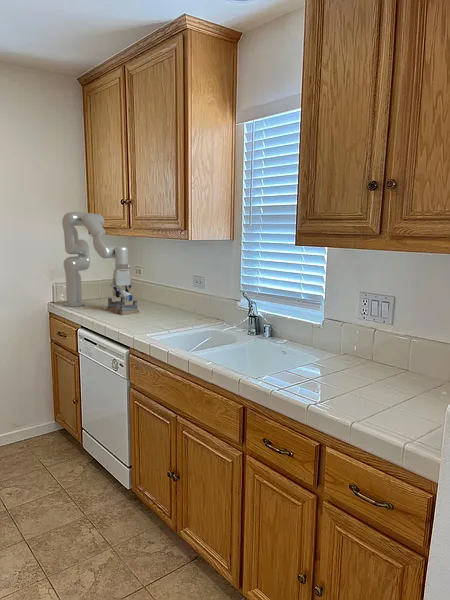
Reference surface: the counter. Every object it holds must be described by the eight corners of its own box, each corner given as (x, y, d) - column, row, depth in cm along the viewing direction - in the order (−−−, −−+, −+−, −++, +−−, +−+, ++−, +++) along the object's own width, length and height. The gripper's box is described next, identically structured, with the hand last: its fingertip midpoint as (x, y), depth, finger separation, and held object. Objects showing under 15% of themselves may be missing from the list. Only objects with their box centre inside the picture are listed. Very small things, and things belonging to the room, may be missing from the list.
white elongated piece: (125, 294, 265) (111, 283, 285) (125, 305, 267) (110, 294, 287) (134, 294, 268) (119, 283, 288) (133, 305, 270) (118, 293, 290)
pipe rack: (106, 309, 284) (106, 297, 283) (122, 308, 291) (122, 296, 290) (122, 315, 268) (122, 302, 267) (139, 313, 275) (139, 300, 274)
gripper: (131, 266, 283) (131, 294, 286) (105, 267, 273) (106, 297, 275) (137, 267, 278) (137, 296, 281) (111, 268, 267) (112, 298, 270)
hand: (122, 296), depth 278 cm, fingers closed on white elongated piece, 5 cm apart
